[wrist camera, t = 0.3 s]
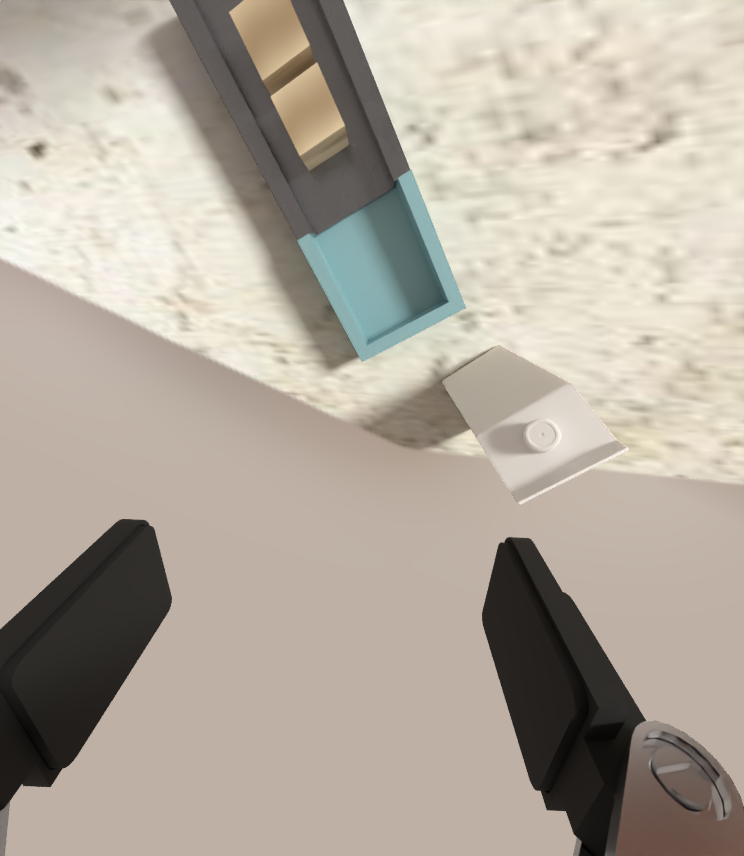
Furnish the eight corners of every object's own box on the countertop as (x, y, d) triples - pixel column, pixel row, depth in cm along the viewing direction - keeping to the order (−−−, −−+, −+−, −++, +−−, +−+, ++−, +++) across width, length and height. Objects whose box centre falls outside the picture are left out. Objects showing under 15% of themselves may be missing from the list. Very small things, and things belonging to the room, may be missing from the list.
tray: (304, 244, 33) (296, 240, 30) (407, 181, 31) (411, 169, 28) (363, 355, 37) (361, 362, 34) (458, 305, 35) (465, 307, 32)
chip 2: (284, 120, 29) (270, 96, 25) (325, 90, 28) (317, 62, 24) (309, 171, 30) (299, 156, 26) (349, 144, 29) (344, 125, 26)
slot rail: (183, 16, 27) (162, -14, 24) (302, -83, 25) (292, -128, 22) (304, 244, 33) (298, 241, 31) (407, 180, 31) (410, 171, 28)
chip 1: (249, 48, 27) (229, 12, 23) (291, 15, 26) (278, -28, 23) (277, 106, 28) (262, 80, 25) (319, 76, 28) (309, 45, 24)
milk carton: (527, 396, 39) (647, 490, 21) (471, 429, 41) (540, 540, 23) (498, 344, 37) (607, 401, 19) (440, 380, 38) (492, 463, 21)
